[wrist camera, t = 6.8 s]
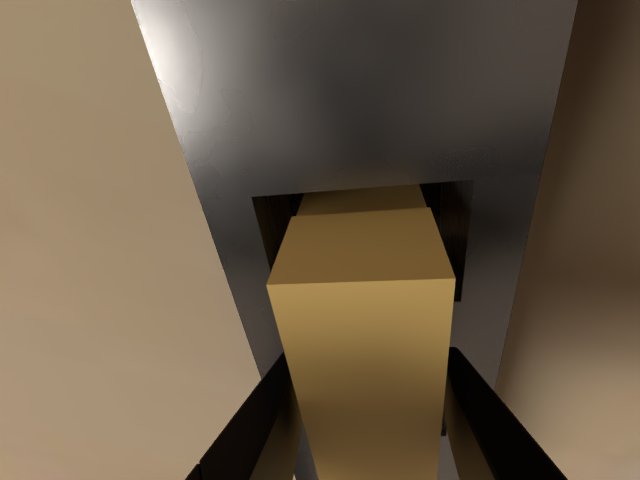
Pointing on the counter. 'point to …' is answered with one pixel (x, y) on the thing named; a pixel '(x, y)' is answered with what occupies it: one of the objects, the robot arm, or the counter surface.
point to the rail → (365, 134)
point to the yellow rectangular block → (366, 330)
